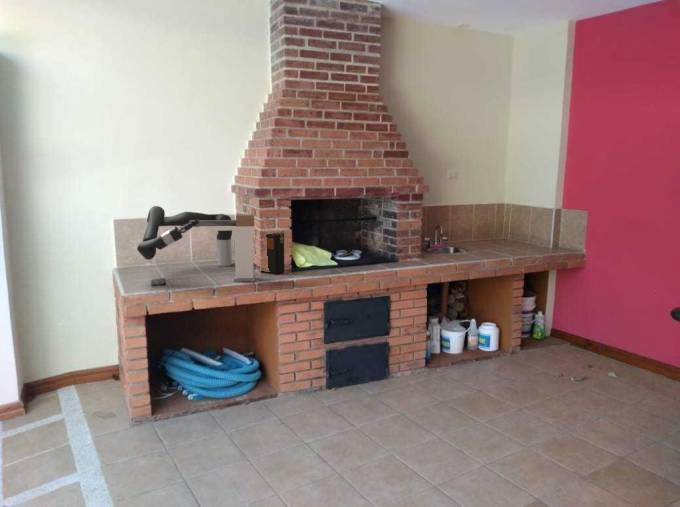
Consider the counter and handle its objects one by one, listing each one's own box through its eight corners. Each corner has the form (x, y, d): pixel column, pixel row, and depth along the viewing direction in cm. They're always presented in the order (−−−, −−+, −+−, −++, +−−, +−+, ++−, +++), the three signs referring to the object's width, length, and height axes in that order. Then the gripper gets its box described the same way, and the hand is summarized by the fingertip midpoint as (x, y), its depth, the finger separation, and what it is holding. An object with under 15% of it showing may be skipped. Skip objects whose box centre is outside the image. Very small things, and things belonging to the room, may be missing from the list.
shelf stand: (213, 278, 319) (212, 224, 312) (255, 277, 322) (254, 224, 316) (212, 282, 309) (210, 227, 303) (255, 281, 312) (254, 226, 306)
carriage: (190, 225, 309) (189, 214, 308) (254, 224, 314) (254, 214, 313) (188, 226, 302) (188, 216, 301) (254, 226, 308) (253, 215, 306)
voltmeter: (286, 272, 336) (285, 232, 331) (277, 275, 329) (277, 234, 324) (266, 269, 344) (265, 230, 339) (257, 272, 336) (256, 232, 332)
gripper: (177, 239, 313) (203, 224, 314) (173, 243, 300) (200, 228, 300) (170, 228, 311) (196, 213, 312) (166, 232, 298) (193, 216, 298)
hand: (198, 220), depth 306 cm, fingers closed on carriage, 3 cm apart
